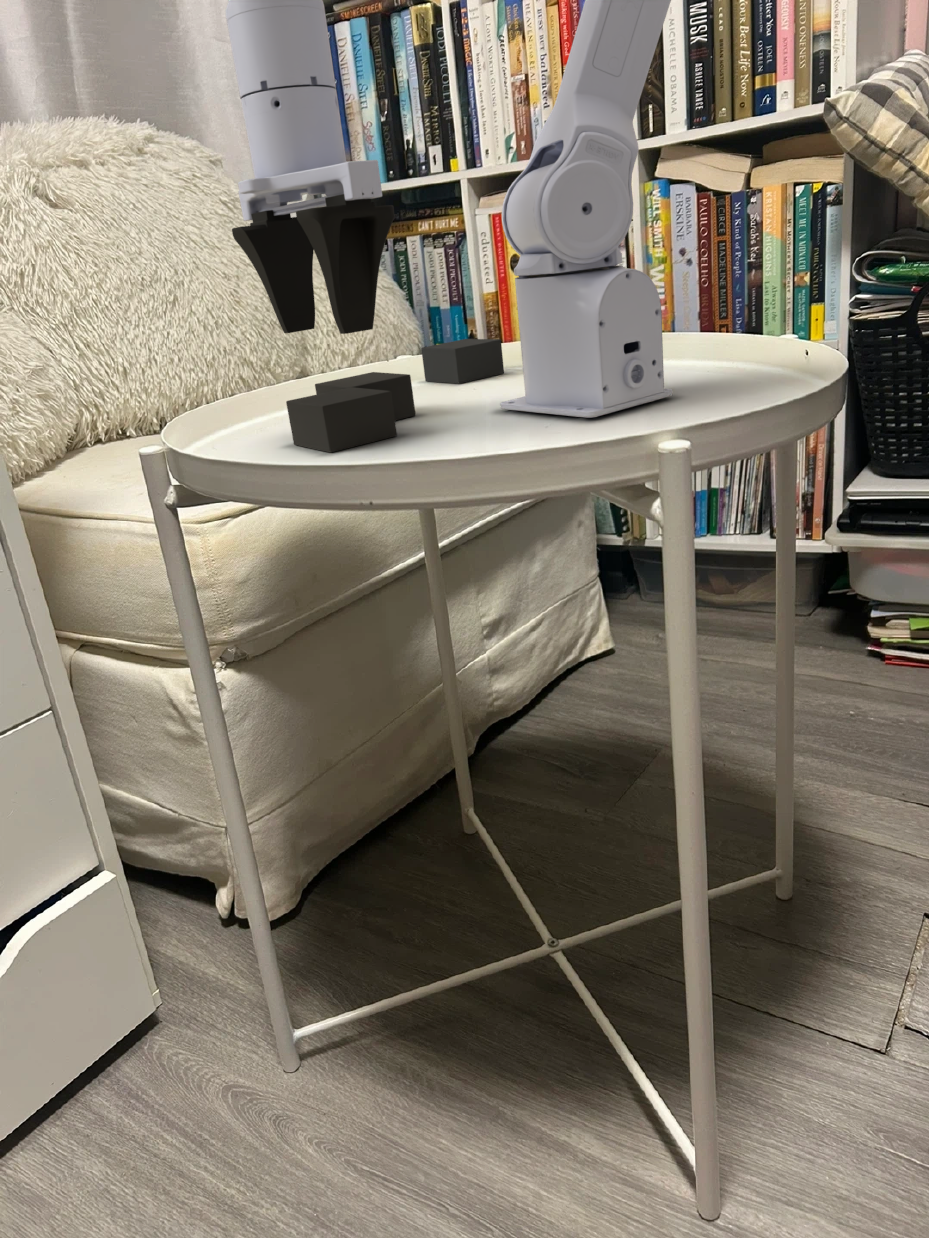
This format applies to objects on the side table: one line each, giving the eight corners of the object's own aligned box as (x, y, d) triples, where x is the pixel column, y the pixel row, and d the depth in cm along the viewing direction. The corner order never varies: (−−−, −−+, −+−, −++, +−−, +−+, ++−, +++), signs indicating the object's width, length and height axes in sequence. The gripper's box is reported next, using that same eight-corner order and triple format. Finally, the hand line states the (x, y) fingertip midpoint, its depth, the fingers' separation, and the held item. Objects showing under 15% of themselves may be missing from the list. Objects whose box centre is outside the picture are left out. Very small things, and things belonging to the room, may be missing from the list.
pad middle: (397, 436, 63) (391, 390, 62) (330, 453, 60) (322, 406, 59) (358, 429, 67) (351, 387, 66) (293, 445, 64) (285, 401, 63)
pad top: (416, 415, 70) (410, 374, 68) (356, 430, 67) (349, 387, 66) (379, 410, 74) (373, 371, 72) (321, 424, 71) (314, 384, 70)
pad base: (504, 373, 85) (501, 339, 84) (459, 384, 82) (454, 348, 81) (469, 371, 89) (465, 338, 88) (425, 381, 86) (420, 347, 85)
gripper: (180, 118, 59) (224, 339, 65) (284, 70, 48) (328, 342, 54) (279, 115, 63) (314, 324, 68) (397, 70, 52) (428, 324, 57)
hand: (326, 331), depth 61 cm, fingers open, 7 cm apart
